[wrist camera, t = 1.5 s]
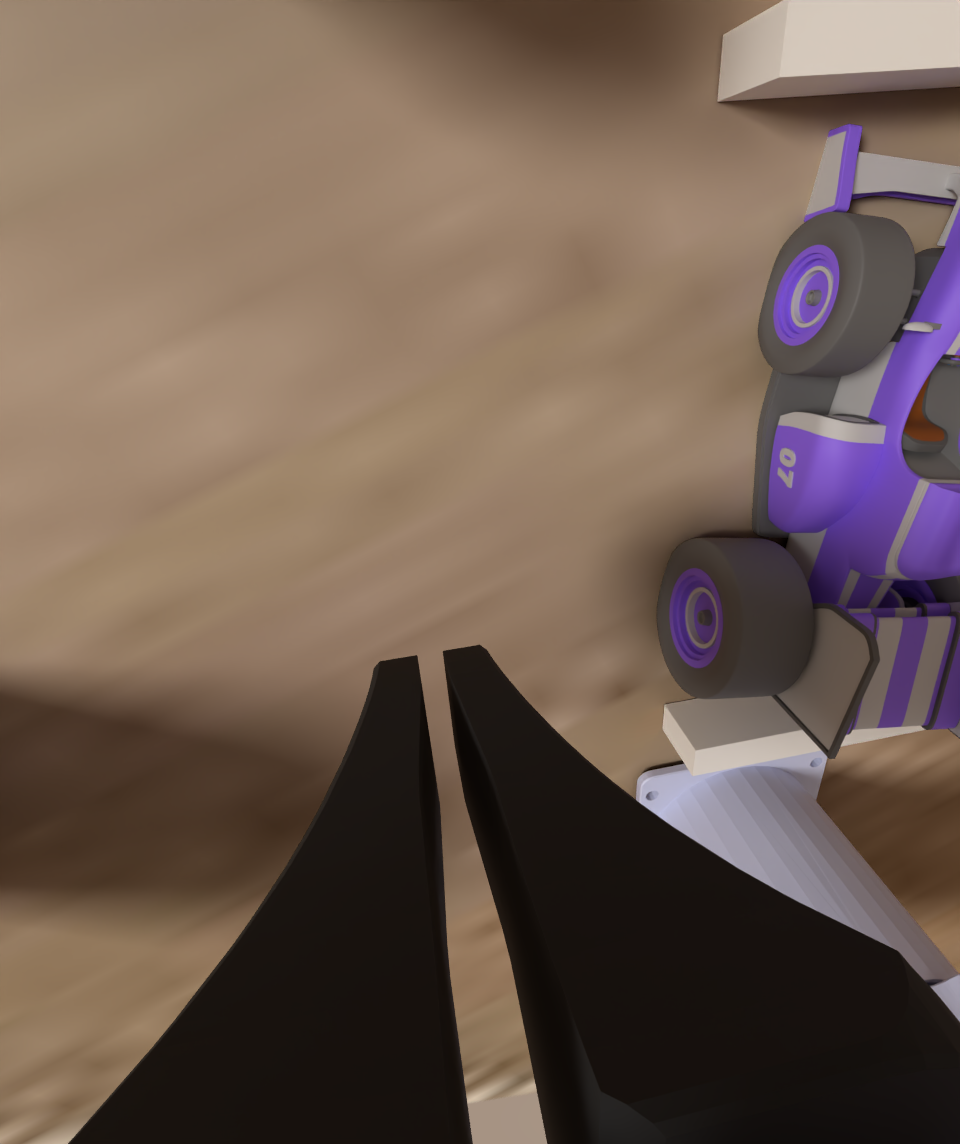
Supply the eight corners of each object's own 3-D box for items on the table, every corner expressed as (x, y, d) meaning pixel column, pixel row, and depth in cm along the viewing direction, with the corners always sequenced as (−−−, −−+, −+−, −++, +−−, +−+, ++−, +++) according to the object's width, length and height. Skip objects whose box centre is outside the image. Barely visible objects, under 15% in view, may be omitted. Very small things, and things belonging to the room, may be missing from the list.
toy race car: (1079, 170, 17) (1446, 132, 11) (874, 634, 24) (1037, 757, 18) (768, 122, 15) (1017, 48, 9) (641, 640, 22) (742, 779, 16)
